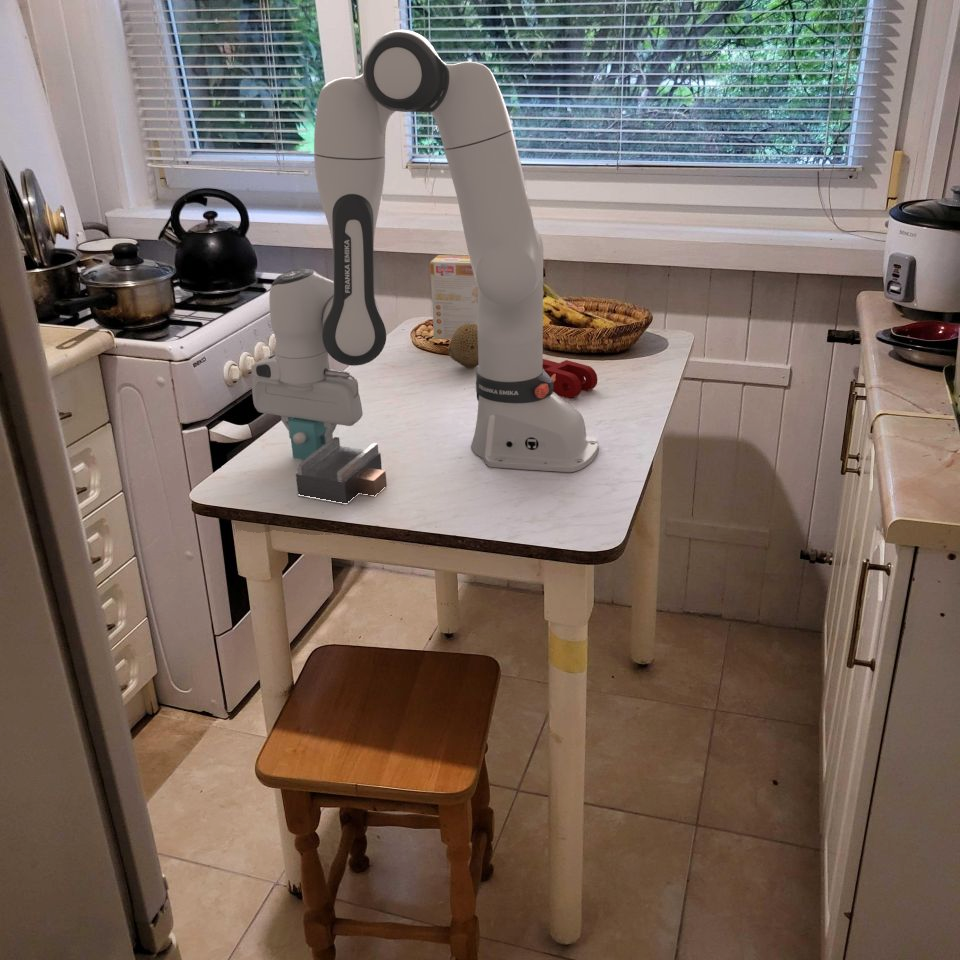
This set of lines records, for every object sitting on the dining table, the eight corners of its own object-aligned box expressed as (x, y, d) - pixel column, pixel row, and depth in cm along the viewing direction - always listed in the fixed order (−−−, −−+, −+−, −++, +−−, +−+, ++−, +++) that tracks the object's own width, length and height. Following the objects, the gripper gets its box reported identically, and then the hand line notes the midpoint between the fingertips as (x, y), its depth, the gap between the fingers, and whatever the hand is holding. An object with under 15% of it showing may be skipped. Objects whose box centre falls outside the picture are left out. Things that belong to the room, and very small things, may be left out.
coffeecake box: (502, 338, 229) (501, 255, 220) (496, 348, 223) (494, 263, 214) (441, 335, 232) (437, 253, 224) (433, 344, 226) (429, 261, 218)
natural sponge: (496, 373, 208) (495, 328, 203) (455, 377, 206) (453, 332, 202) (486, 360, 216) (484, 316, 211) (446, 364, 214) (444, 320, 209)
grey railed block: (397, 476, 164) (395, 446, 161) (363, 508, 154) (360, 476, 152) (335, 466, 168) (332, 436, 166) (298, 496, 158) (294, 465, 156)
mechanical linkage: (597, 391, 198) (597, 368, 195) (575, 401, 193) (576, 378, 191) (536, 374, 207) (536, 352, 205) (514, 383, 203) (514, 361, 200)
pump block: (332, 450, 174) (328, 414, 171) (312, 465, 169) (308, 428, 166) (308, 446, 176) (304, 410, 173) (288, 461, 171) (283, 424, 167)
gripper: (365, 367, 165) (371, 441, 171) (263, 354, 172) (273, 426, 178) (347, 379, 159) (354, 456, 165) (242, 365, 167) (253, 439, 173)
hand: (311, 440), depth 172 cm, fingers closed on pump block, 5 cm apart
